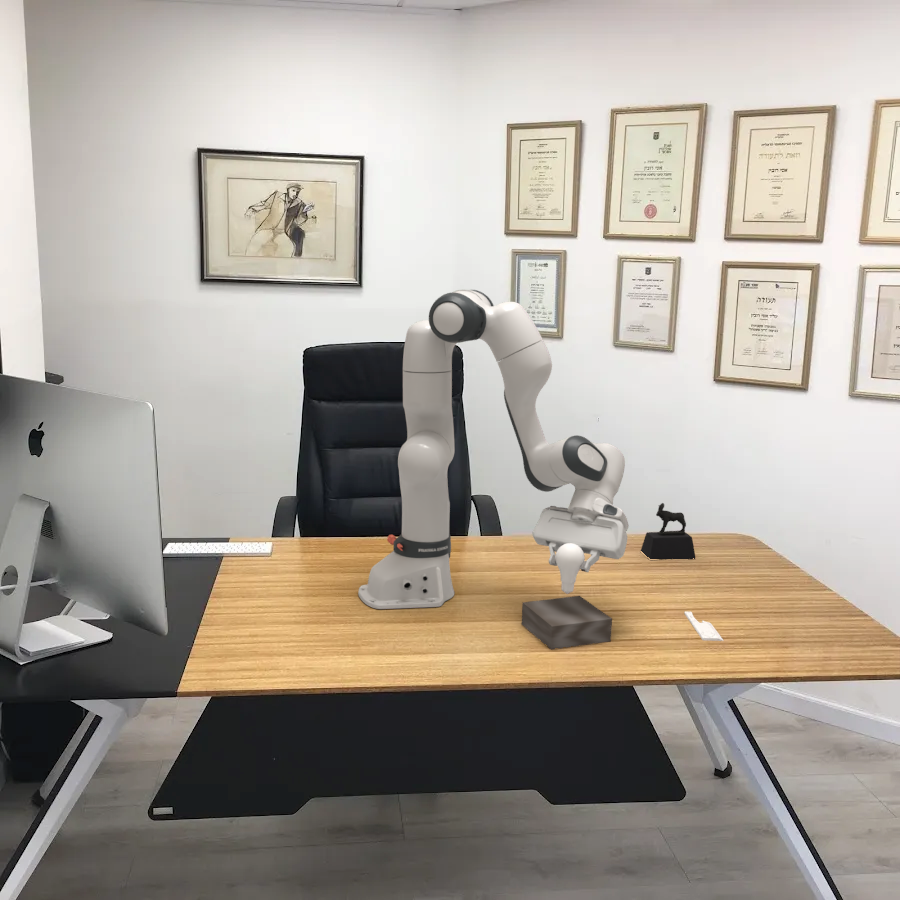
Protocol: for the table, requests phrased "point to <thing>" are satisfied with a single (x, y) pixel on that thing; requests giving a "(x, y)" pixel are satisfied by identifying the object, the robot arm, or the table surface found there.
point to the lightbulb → (569, 564)
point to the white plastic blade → (704, 628)
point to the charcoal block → (566, 622)
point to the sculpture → (668, 539)
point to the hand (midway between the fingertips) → (568, 567)
